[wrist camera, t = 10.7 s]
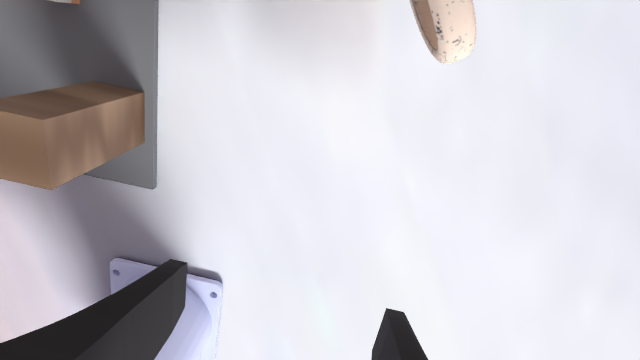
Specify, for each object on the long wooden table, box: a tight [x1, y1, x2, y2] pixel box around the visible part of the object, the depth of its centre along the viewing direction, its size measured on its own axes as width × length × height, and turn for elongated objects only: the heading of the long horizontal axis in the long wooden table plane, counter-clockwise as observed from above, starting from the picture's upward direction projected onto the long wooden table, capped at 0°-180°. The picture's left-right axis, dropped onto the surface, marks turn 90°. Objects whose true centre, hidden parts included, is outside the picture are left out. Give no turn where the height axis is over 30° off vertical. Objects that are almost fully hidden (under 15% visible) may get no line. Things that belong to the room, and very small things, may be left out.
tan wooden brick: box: [0, 81, 145, 190], centre depth 18 cm, size 3×3×7 cm
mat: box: [0, 0, 158, 190], centre depth 20 cm, size 16×14×1 cm
